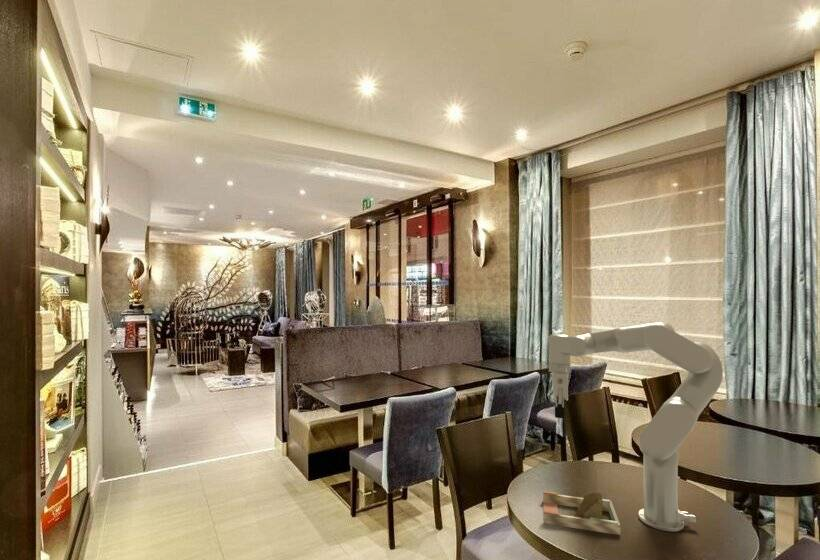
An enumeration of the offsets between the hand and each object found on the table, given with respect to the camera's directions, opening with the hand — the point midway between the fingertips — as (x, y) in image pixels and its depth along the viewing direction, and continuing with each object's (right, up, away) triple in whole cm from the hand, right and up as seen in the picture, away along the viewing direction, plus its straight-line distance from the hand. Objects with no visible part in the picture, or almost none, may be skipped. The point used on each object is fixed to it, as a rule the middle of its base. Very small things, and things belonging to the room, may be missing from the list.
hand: (559, 417), depth 157 cm
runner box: (0, -27, -19) cm, 32 cm away
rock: (+1, -27, -21) cm, 34 cm away
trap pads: (-9, -26, -16) cm, 32 cm away
